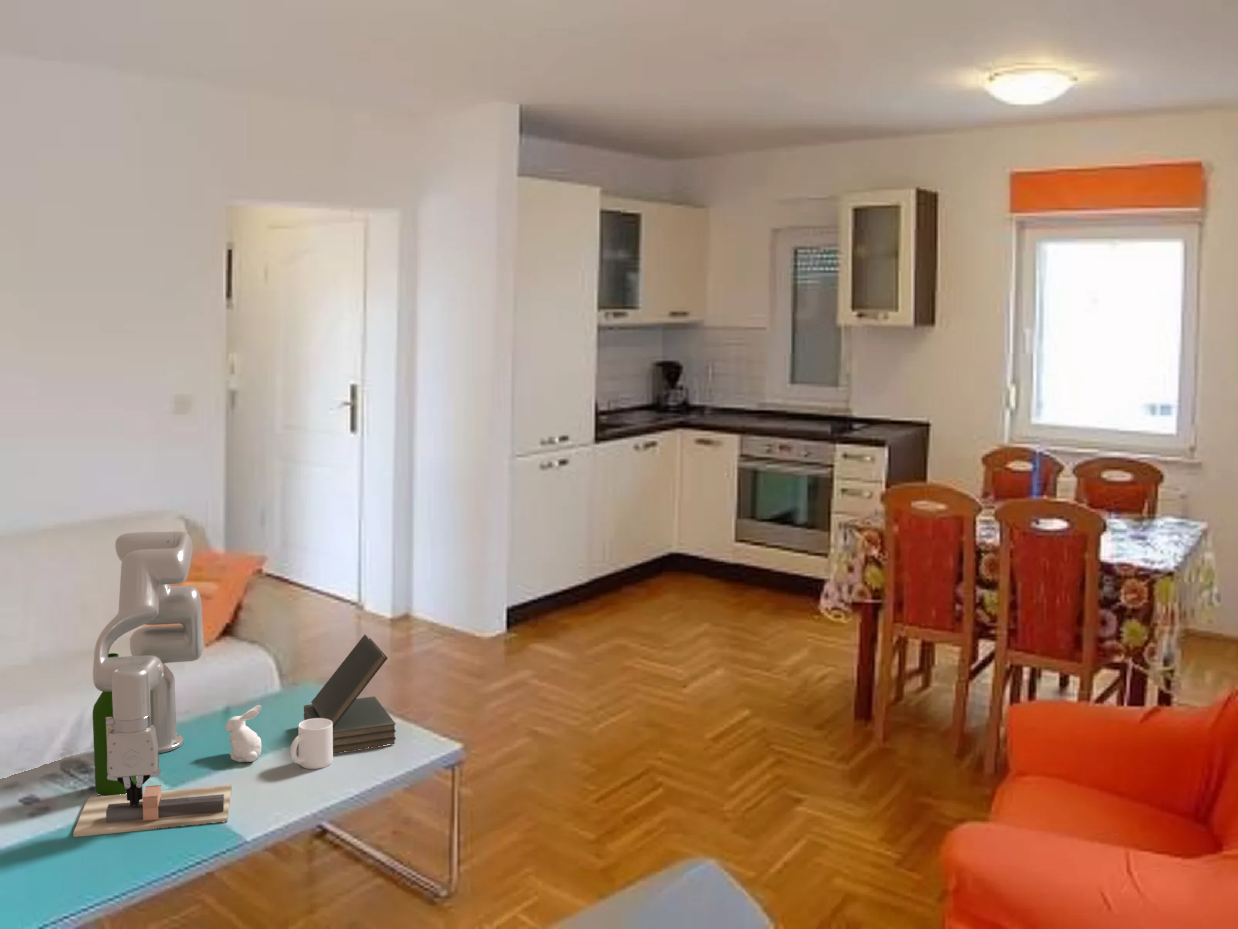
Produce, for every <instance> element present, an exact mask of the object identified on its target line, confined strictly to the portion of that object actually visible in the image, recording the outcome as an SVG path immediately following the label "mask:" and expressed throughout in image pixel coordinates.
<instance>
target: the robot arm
mask: <svg viewBox="0 0 1238 929" xmlns="http://www.w3.org/2000/svg"><path fill="white" fill-rule="evenodd" d="M193 544H194V542H193V539H192V537H191V536H190V534H189V533H187V532H185V531H145V532H142V531H139V532H127V533H123V534H121V535H119V536H118V537H117V538H116V539H115V544H114V546H115V552H116V555H117V557H118V559H119V560H120V561H121V567H120V577H119V578H120V580H119V581H120V582H119V596H118V597H119V598H118V599H119V600H118V611H117V614H116V615H115V616H114V617H113V618H112V619H111V620H110V621H109V622H108V623H107V624H106V626H105V627H104V628H103V629H102V631H101V632H100V634H99V636H98V638H97V640H96V642H95V645H94V646H95V647H94V652H93V664H92V666H93V667H92V681H93V685H94V687H95V688H96V689H97V690H98V691H99V692H112V701H113V717H112V718H110V719H106V726H107V725H110V726H112V727H113V729H112V730H111V731H110V733H109V738H108V749H107V773H108V776H107V779H108V780H114V781H119V782H120V783H121V784H123V785H124V786H125V788H127V801H130V806H133V805H138V804H139V801H140V800H141V799H142V797H143V793H144V792H143V785H144V784H145V783H146V782H147V781H148V780H149V779H151V778H155V777H156V778H157V777H159V776H160V774H161V769H160V765H159V764H160V754H162V753H167V752H170V751H174V750H175V749H178V748H179V747H181V746H182V745H183V743H184V737H183V736H182V735H181V734H179V733H178V732H177V706H176V705H177V704H176V702H177V701H176V679H175V676H174V673H173V671H171V669H170V668H169V667H168V666H167V665H166V664H170V663H173V664H174V663H186V662H187V663H188V662H194V661H197V660H199V659H200V658H201V657H202V655H203V652H204V643H205V641H204V639H205V638H204V626H203V624H204V623H203V604H202V598H201V594H200V591H199V590H198V588H196V587H194V586H191V585H180V584H182V583H184V582H185V581H186V580H187V578H188V576H189V573H190V567H191V562H192V557H193V552H194V545H193ZM175 584H176V585H175ZM177 584H178V585H179V586H178V585H177ZM173 585H174V586H173ZM144 625H147V626H144ZM141 626H144V627H141ZM139 627H141V628H139ZM137 628H138V629H137ZM135 629H136V630H135ZM133 630H134V632H133V633H132V634H131V635H130V639H129V650H130V651H129V652H130V654H131V655H129V656H118V657H110V658H108V654H110V649H111V647H112V645H113V644H114V642H116V641H117V640H118V638H120V637H122V636H123V635H125V634H126V633H128V632H131V631H133ZM132 776H137V781H136V784H134V782H133V781H132Z"/></svg>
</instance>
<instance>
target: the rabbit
mask: <svg viewBox="0 0 1238 929" xmlns="http://www.w3.org/2000/svg"><path fill="white" fill-rule="evenodd" d="M261 711H262V706H261V705H260V704H257V705H255V706H253V707H251V709H249V710H248V711H246V712H245V713H243V714H242V715H235V716H232V717H230V718H229V719H228V720H227V722H226V723H225V725H224V728H225V731H226V732H228V733H230V734H229V742H230V747H231V752H230V753H229V756H230V759H231V760H233V761H234V762H235V761H236V762H238V763H245V762H246V763H251V762H254V761H257V759H259V757H260V755H261V753H262V739H261V737H260V736H258V734H257V732H256V731H254V730H253V729H251V728H250V727H249V726H247V725H246V721H248V720H251V719H254V718H255V717H257V715H258V714H259V713H260V712H261Z"/></svg>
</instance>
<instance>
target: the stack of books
mask: <svg viewBox="0 0 1238 929" xmlns="http://www.w3.org/2000/svg"><path fill="white" fill-rule="evenodd" d="M388 658H389V657H388V656H387V655H386V654H385V653H384V652H383V651H382V650H381V649H380V647H379V646H378V645H377V643H375V642H374V641H373V639H372V638H371V637H369V636H368V635H367V634H363V636H361V638H360V640H359V641H358V642H357V643H356V645H355V646H354V647H353V648H352V650H351V651H350V652H349V654H348V655H347V656H346V658H345V659H344V660H343V661H342V662H341V664H339V666H338V667H337V669H336V670H335V672H334V673H333V674H332V675H331V677H330V678H329V679H328V680H327V681H326V683H325V684H324V685H323V687H322V688H321V689H320V691H319V692H318V693H317V694H316V696H315V697H314V698H313V699H312V701H311V704H305V705H303V712H304V713H303V721H304V720H307V719H313V718H325V719H329V720H331V721H332V723H333V755H334V753H336V754H341V753H340V752H343V753H345V752H344V751H350V752H355V751H354V750H356V751H359V750H358V749H363V750H366V749H365V748H368V747H369V748H370V749H372V748H371V747H377V748H379V747H378V746H383V745H387V744H395V743H396V742H395V741H396V740H397V738H396V736H395V735H396V734H395V733H396V729H395V725H396V724H397V723H396V722H395V721H394V720H393V718H392V716H390V715H389V713H388V712H387V710H386V709H385V707H383V705H382V704H381V702H380V701H379V699H377V697H376V696H374V695H373V696H367V697H366V696H365V697H359V696H360V694H361V693H362V692H363V691H364V689H365V688H366V687H367V686H368V684H369V683H370V682H371V680H372V679H373V678H374V677H375V675H376V674H377V673H378V671H379V670H380V669H381V668H382V666H383V665H384V664H385V662H386V661H387V660H388ZM358 697H359V698H358ZM383 747H384V746H383Z"/></svg>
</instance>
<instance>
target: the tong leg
mask: <svg viewBox="0 0 1238 929" xmlns="http://www.w3.org/2000/svg"><path fill="white" fill-rule="evenodd" d="M221 797H224V794H221V795H209V796H198V797H186V798H175V799H164V800H160V801H159V803H167V802H178V801H189V800H200V799H210V798H221ZM138 805H143V801H141V802H139V804H138ZM123 806H130V802H129V803H118V804H109V805H108V807H107V808H113V807H123ZM133 806H134V805H133Z"/></svg>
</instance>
